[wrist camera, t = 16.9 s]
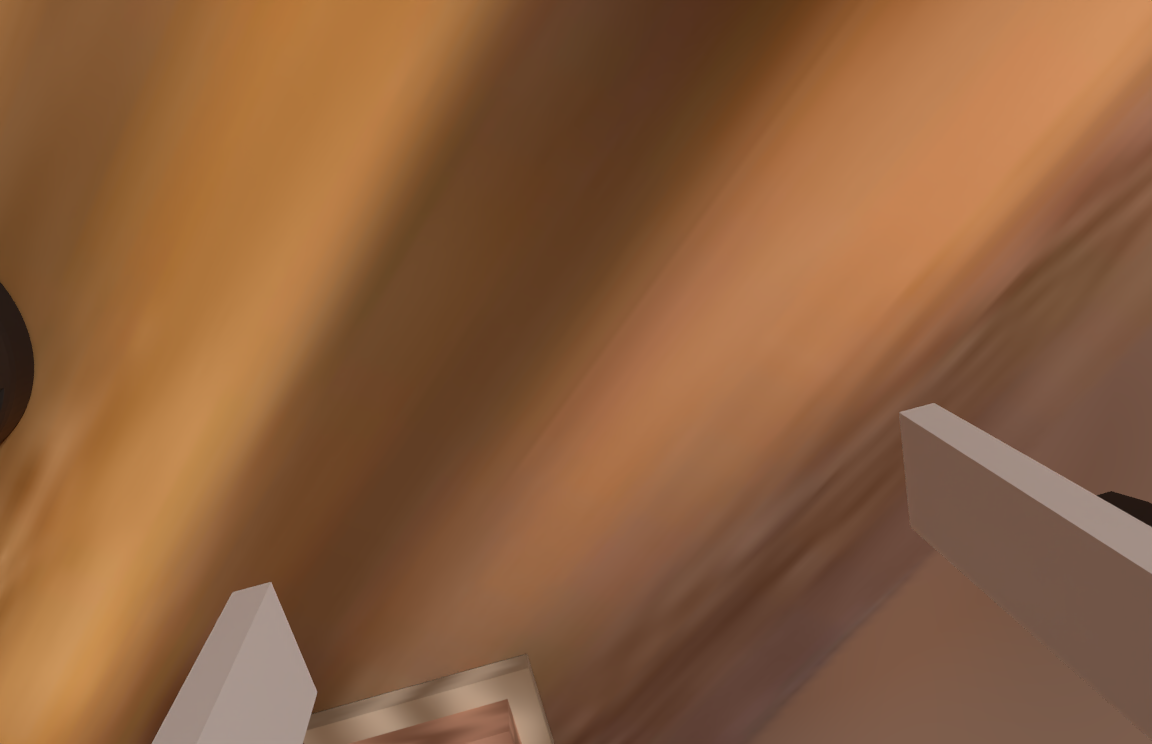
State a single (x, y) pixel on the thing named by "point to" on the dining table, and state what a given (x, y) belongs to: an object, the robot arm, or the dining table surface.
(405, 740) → the socket board
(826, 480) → the dining table surface
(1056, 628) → the robot arm
